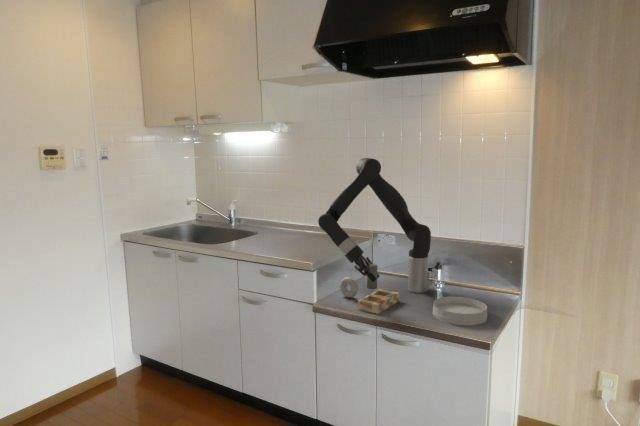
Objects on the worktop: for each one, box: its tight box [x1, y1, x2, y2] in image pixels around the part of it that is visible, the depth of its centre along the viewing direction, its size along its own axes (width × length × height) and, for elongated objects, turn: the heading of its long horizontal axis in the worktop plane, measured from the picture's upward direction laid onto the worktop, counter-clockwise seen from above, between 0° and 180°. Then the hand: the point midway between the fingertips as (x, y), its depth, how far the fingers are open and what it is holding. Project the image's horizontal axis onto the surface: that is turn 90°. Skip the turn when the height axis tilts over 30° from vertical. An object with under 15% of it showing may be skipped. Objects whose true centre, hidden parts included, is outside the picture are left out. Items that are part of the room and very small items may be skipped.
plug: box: [366, 263, 378, 290], centre depth 205 cm, size 4×4×10 cm
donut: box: [339, 276, 359, 299], centre depth 220 cm, size 10×3×10 cm, turn 50°
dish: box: [432, 296, 488, 326], centre depth 196 cm, size 22×22×5 cm
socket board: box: [357, 288, 400, 315], centre depth 209 cm, size 20×10×4 cm, turn 145°
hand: (376, 279), depth 204 cm, fingers closed on plug, 4 cm apart
